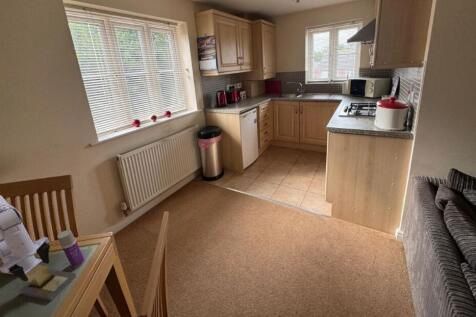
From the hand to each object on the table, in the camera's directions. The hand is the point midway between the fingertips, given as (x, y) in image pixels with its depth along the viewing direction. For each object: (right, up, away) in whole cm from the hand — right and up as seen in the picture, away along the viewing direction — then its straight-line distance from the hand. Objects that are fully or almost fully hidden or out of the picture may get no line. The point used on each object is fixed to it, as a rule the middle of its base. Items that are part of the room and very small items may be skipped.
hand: (36, 271), depth 85 cm
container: (+8, -2, +11) cm, 13 cm away
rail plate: (+3, -6, +2) cm, 7 cm away
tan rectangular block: (+1, -6, +3) cm, 7 cm away
